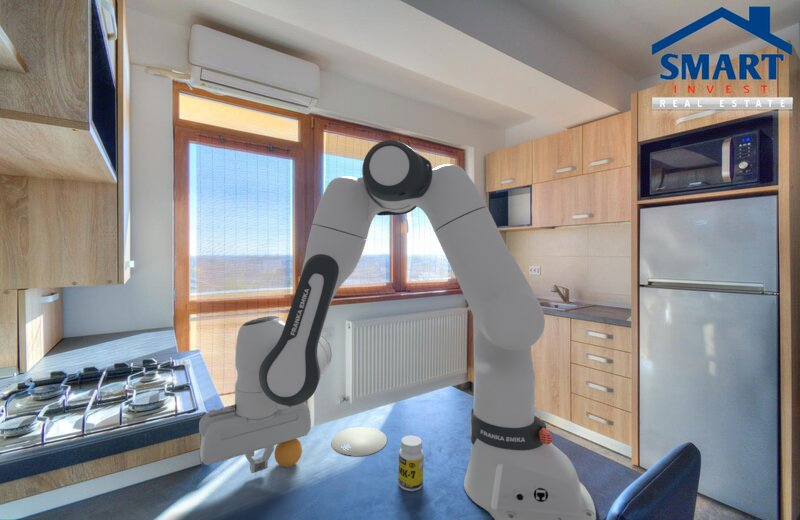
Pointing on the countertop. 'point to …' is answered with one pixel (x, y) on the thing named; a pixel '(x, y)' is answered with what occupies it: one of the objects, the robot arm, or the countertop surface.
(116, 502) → the countertop surface
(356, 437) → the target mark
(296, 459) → the ball
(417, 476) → the supplement bottle
